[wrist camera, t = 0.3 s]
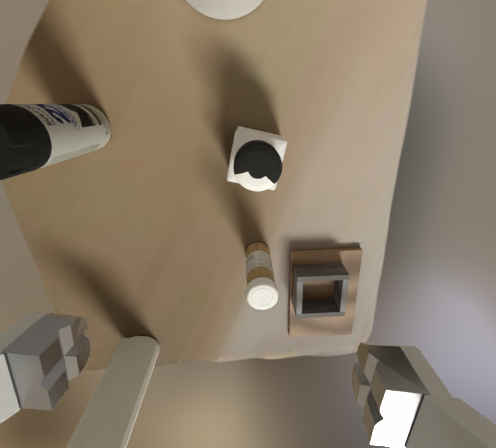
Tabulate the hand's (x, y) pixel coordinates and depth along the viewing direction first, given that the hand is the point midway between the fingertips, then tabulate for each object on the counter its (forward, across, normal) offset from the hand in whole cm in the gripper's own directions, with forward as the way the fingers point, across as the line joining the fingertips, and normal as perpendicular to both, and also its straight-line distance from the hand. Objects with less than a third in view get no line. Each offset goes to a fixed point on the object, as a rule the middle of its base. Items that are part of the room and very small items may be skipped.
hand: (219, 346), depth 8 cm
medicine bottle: (+40, +1, -2) cm, 40 cm away
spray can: (+37, +26, -4) cm, 46 cm away
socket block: (+42, -14, +24) cm, 51 cm away
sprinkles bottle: (+41, -1, +16) cm, 44 cm away
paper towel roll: (+40, +22, +39) cm, 60 cm away
